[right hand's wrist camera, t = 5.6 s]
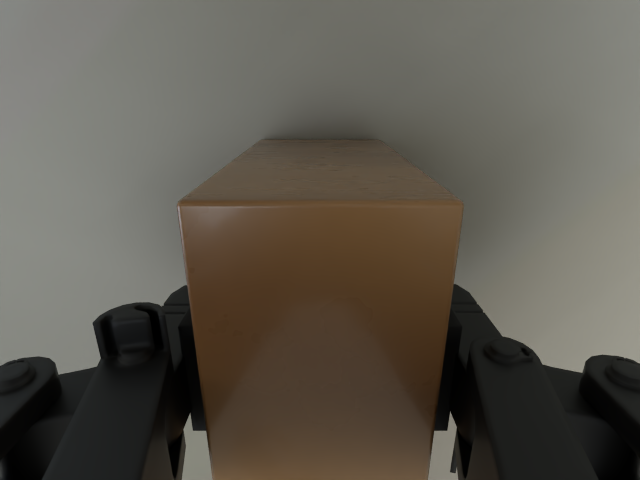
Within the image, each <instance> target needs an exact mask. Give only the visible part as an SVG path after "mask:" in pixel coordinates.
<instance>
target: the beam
mask: <svg viewBox="0 0 640 480" xmlns="http://www.w3.org/2000/svg"><path fill="white" fill-rule="evenodd" d="M463 209H464V205H463V201H461V200H460V199H458V198H457V197H456V196H454V195H453V194H452V193H450V192H449V191H448V190H446V189H445V188H444V187H442V186H441V185H440V184H438V183H437V182H436V181H434V180H433V179H432V178H430V177H429V176H428V175H426V174H425V173H424V172H422V171H421V170H420V169H418V168H417V167H415V166H414V165H413V164H411V163H410V162H409V161H407V160H406V159H405V158H403V157H402V156H401V155H399V154H398V153H397V152H395V151H394V150H393V149H391V148H390V147H389V146H387V145H386V144H385V143H383V142H382V141H380V140H260V141H258V142H257V143H256V144H254V145H253V146H252V147H250V148H249V149H248V150H246V151H245V152H244V153H242V154H241V155H240V156H238V157H237V158H236V159H234V160H233V161H232V162H230V163H229V164H228V165H226V166H225V167H224V168H222V169H221V170H220V171H218V172H217V173H216V174H214V175H213V176H212V177H210V178H209V179H208V180H206V181H205V182H204V183H202V184H201V185H200V186H198V187H197V188H196V189H194V190H193V191H192V192H190V193H189V194H188V195H186V196H185V197H183V198H182V199H181V200H179V201H178V204H177V211H178V218H179V226H180V234H181V241H182V249H183V257H184V264H185V272H186V279H187V287H188V295H189V302H190V310H191V318H192V325H193V333H194V341H195V348H196V356H197V363H198V371H199V379H200V386H201V394H202V402H203V409H204V417H205V425H206V432H207V440H208V447H209V455H210V463H211V470H212V478H213V480H428V474H429V466H430V459H431V451H432V443H433V436H434V428H435V421H436V413H437V406H438V398H439V391H440V383H441V375H442V368H443V360H444V353H445V345H446V338H447V330H448V323H449V315H450V307H451V300H452V292H453V285H454V277H455V270H456V262H457V255H458V247H459V239H460V232H461V224H462V217H463Z"/></svg>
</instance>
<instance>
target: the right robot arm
mask: <svg viewBox="0 0 640 480" xmlns="http://www.w3.org/2000/svg"><path fill="white" fill-rule="evenodd" d="M93 326H94V331H95V335H96V339H97V343H98V348H99V352H100V356H101V360H100V362H99V364H98V366H97V367H94V368H90V369H85V370H80V371H75V372H70V373H65V374H60V375H58V372H57V368H56V365H55V363H54V362H53V361H52V360H51V359H50V358H44V357H29V358H21V359H17V360H13V361H10V362H7V363H5V364H4V365H1V366H0V480H182V472H183V464H184V456H185V448H186V444H185V437H184V431H183V429H184V426H185V424H186V421H187V419H188V416H189V414H190V413H191V420H192V427H193V431H206V425H205V417H204V409H203V402H202V394H201V386H200V379H199V371H198V363H197V356H196V348H195V341H194V333H193V325H192V318H191V310H190V302H189V295H188V287H187V285H185V286H183V287H181V288H180V289H178V290H177V291H175V292H174V293H172V294H171V295H170V296H169V298H168V299H167V300H166V302H165V303H164V306H162V307H161V306H160V305H158V304H153V303H149V302H146V303H132V304H126V305H122V306H119V307H116V308H113V309H111V310H109V311H107V312H105V313H103V314H102V315H100V316H99V317H98V318H97V319H96V320H95V321H94V322H93ZM450 411H451V414H452V416H453V419H454V421H455V423H456V426H457V431H456V437H455V443H454V450H453V456H452V462H451V470H450V472H452V473H456V467H457V472H458V480H640V364H639V363H637V362H636V361H634V360H631V359H627V358H626V359H625V358H624V357H619V356H610V355H598V356H592V357H590V358H589V359H588V360H587V361H586V362H585V366H584V369H583V373H579V372H574V371H569V370H564V369H559V368H554V367H550V366H546V365H542V363H541V361H540V359H539V357H538V356H537V355H536V354H535V352H534V351H533V350H532V349H530V348H529V347H527V346H526V345H524V344H523V343H521V342H518V341H516V340H513V339H511V338H507V337H502V335H501V334H500V333H499V331H498V330H497V329H496V327H495V326H494V325H493V323H492V322H491V321H490V319H489V318H488V317H487V315H486V314H485V313H483V310H482V309H481V308H480V306H479V305H478V304H477V302H476V301H475V300H474V298H473V297H472V296H471V294H470V293H469V292H467V291H466V290H464V289H463V288H461V287H459V286H458V285H456V284H454V285H453V292H452V300H451V307H450V315H449V323H448V330H447V338H446V345H445V353H444V360H443V368H442V375H441V383H440V391H439V398H438V406H437V413H436V421H435V428H434V431H447V429H448V422H449V415H450Z"/></svg>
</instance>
